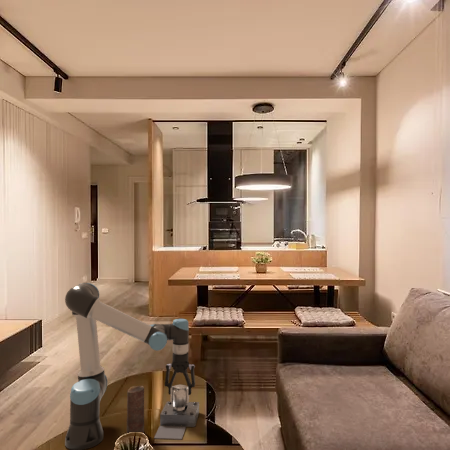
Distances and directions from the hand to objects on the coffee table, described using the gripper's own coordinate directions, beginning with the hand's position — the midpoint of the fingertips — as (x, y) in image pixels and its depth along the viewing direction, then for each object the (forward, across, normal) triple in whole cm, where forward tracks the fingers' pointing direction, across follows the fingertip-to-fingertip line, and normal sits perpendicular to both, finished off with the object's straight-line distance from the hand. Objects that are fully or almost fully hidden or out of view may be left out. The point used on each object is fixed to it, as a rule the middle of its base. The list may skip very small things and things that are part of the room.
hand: (179, 401), depth 172 cm
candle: (+9, -17, -15) cm, 24 cm away
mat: (+8, -2, -13) cm, 15 cm away
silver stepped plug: (+7, 0, 0) cm, 7 cm away
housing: (+8, 0, 0) cm, 8 cm away
